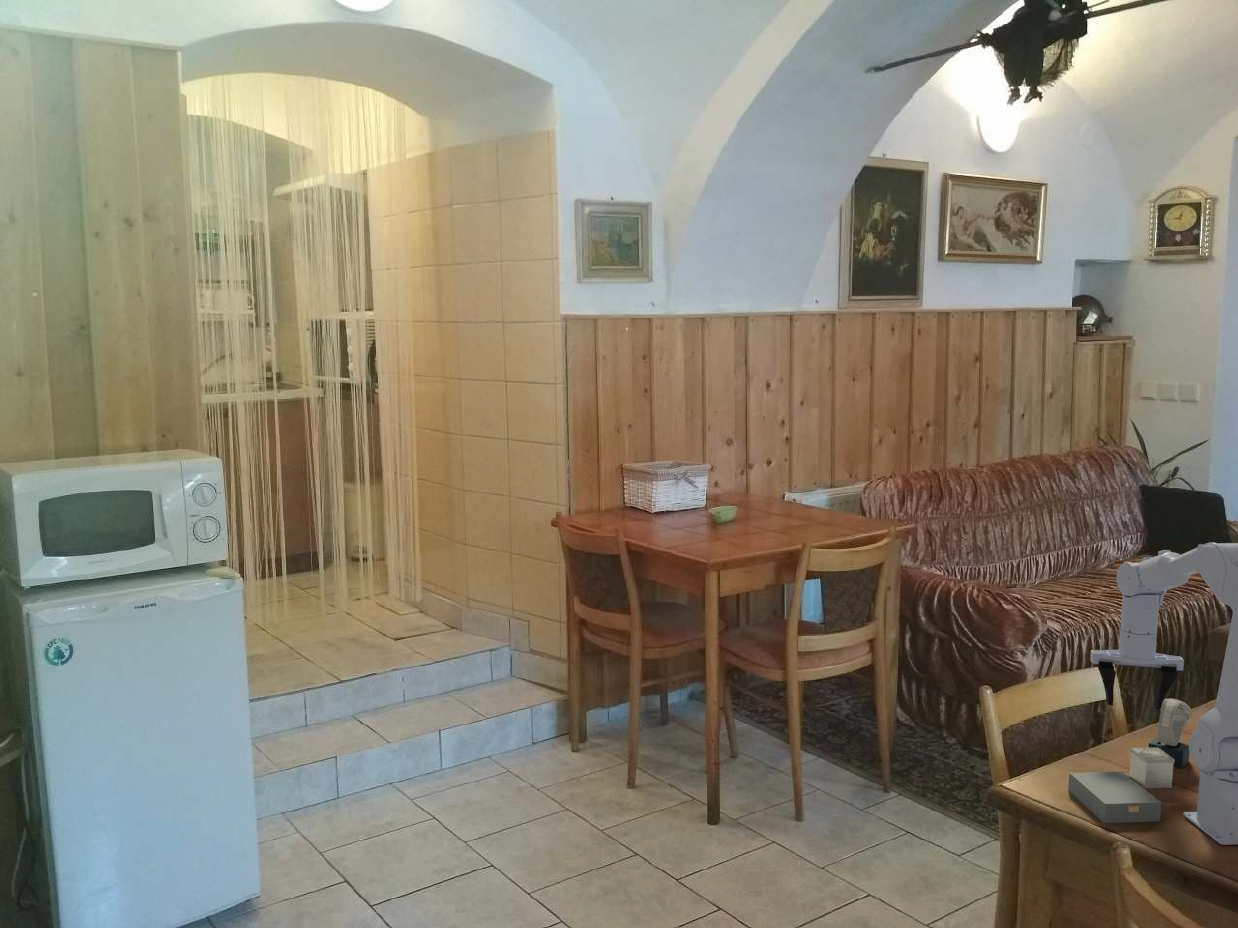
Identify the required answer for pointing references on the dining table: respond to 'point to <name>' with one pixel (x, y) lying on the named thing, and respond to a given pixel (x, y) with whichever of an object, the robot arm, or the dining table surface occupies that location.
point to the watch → (1173, 731)
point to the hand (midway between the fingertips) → (1133, 705)
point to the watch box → (1114, 797)
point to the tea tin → (1151, 767)
